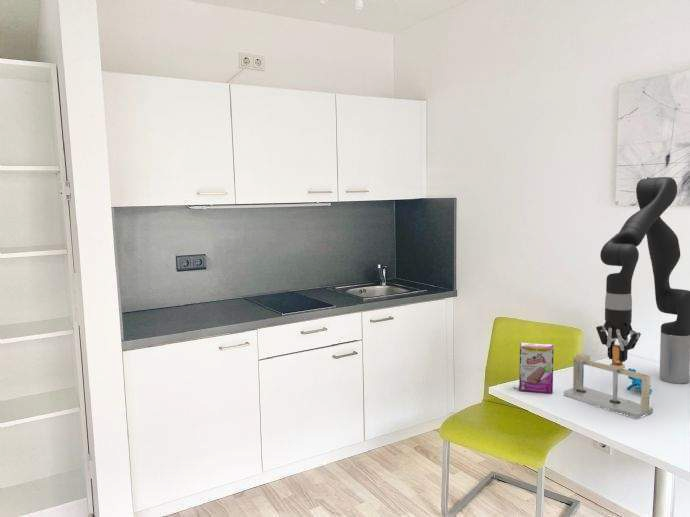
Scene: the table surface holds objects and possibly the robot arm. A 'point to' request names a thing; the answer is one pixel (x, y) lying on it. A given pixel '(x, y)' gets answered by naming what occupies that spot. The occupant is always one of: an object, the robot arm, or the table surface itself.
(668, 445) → the table surface
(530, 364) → the candy bar box
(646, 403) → the divider frame
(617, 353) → the cylinder
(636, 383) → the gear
